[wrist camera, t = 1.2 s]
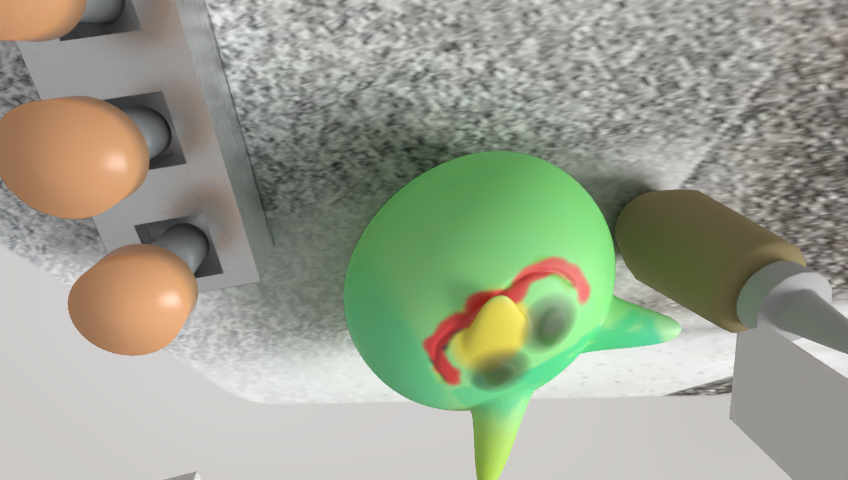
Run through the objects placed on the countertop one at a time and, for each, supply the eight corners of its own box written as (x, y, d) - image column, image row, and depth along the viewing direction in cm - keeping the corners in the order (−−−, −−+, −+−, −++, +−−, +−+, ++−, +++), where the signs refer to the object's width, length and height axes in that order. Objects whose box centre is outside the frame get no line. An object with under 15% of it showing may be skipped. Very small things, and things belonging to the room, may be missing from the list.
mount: (45, -44, 27) (-33, -70, 22) (187, -62, 28) (147, -91, 22) (165, 265, 35) (130, 305, 29) (274, 246, 35) (260, 281, 30)
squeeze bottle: (618, 284, 41) (798, 437, 25) (586, 208, 38) (769, 326, 22) (701, 238, 41) (941, 364, 24) (676, 158, 38) (932, 239, 21)
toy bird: (489, 88, 34) (583, 110, 20) (600, 251, 40) (730, 352, 26) (301, 244, 36) (272, 359, 22) (435, 375, 42) (476, 527, 28)
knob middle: (83, 94, 26) (-33, 111, 18) (173, 81, 26) (99, 91, 18) (117, 179, 27) (25, 228, 20) (201, 165, 28) (143, 208, 20)
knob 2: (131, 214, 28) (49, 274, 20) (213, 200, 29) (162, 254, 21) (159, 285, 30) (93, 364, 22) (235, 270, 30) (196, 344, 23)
